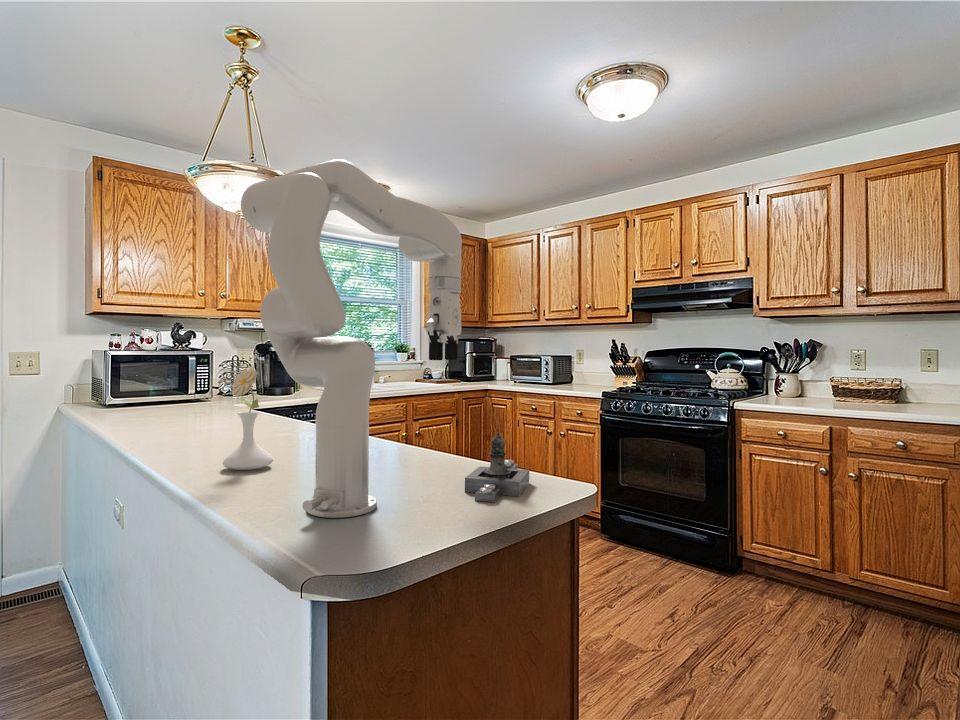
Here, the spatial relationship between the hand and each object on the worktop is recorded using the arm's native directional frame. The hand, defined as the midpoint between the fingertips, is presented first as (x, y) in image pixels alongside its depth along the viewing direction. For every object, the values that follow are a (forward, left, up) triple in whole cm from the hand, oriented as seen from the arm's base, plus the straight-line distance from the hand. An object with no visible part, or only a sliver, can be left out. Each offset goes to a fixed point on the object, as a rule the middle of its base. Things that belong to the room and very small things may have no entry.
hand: (443, 360), depth 125 cm
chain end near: (-10, -15, -27) cm, 33 cm away
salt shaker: (-7, -15, -27) cm, 32 cm away
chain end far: (-4, -15, -27) cm, 31 cm away
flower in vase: (-8, +47, -27) cm, 55 cm away
